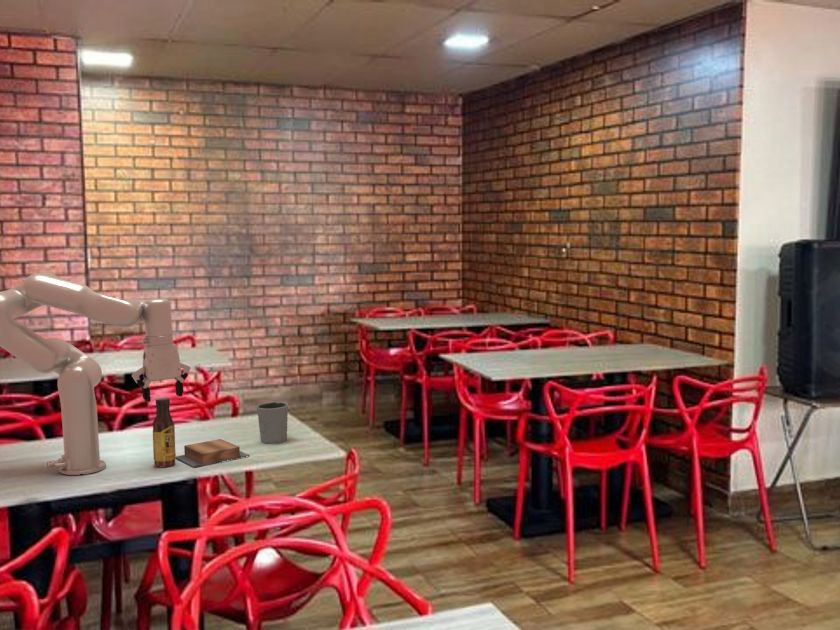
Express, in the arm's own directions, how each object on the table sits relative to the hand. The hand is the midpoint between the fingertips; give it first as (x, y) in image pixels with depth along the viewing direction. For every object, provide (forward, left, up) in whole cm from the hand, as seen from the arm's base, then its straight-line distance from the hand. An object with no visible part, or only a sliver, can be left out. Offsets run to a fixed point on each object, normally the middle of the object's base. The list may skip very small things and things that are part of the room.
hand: (163, 398), depth 241 cm
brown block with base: (+14, -2, -20) cm, 24 cm away
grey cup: (+38, +3, -20) cm, 43 cm away
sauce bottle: (0, 0, -20) cm, 20 cm away
